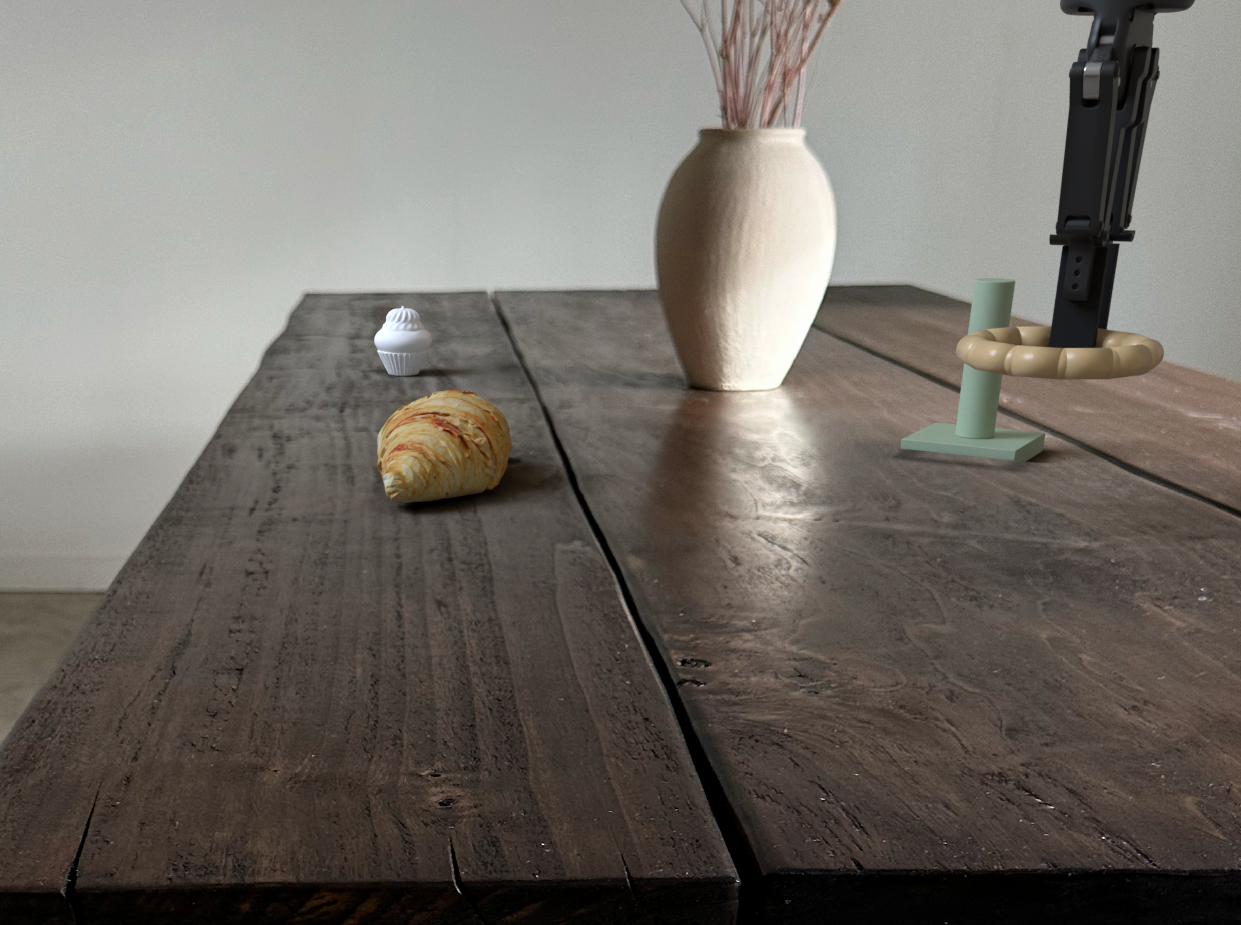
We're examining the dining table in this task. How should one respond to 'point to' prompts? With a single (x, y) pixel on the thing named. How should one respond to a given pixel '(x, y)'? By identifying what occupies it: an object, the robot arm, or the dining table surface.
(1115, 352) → the ring
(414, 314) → the muffin
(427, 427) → the croissant
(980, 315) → the post
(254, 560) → the dining table surface
